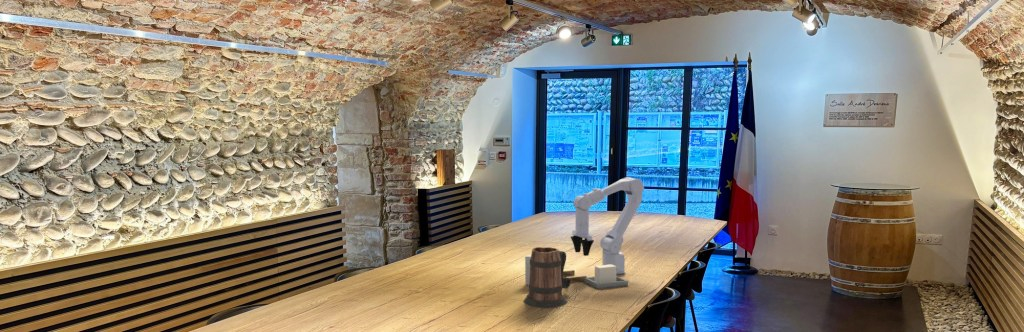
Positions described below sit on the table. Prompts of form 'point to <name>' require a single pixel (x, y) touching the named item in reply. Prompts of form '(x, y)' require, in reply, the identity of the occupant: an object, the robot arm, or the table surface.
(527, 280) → the skincare box
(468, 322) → the table surface
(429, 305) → the table surface
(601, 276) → the beige rectangular block
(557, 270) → the tankard
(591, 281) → the grey tray
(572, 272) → the walnut dock
